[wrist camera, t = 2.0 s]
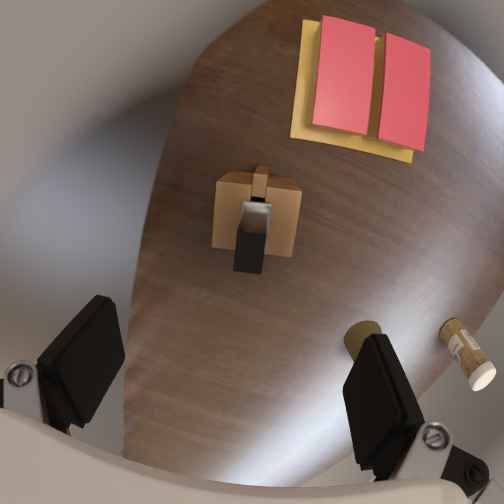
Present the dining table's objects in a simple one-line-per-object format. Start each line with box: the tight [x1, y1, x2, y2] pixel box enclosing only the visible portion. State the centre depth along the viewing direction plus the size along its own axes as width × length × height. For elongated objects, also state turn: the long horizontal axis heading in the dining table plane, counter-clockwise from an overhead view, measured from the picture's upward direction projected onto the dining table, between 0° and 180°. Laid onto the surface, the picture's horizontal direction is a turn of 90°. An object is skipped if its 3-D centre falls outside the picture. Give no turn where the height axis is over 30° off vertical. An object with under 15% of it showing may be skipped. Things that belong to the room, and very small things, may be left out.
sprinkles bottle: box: [440, 319, 496, 391], centre depth 31 cm, size 5×5×14 cm
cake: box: [290, 15, 431, 164], centre depth 23 cm, size 15×15×5 cm
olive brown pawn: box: [344, 321, 382, 362], centre depth 33 cm, size 6×6×11 cm
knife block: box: [212, 165, 302, 257], centre depth 28 cm, size 7×8×8 cm
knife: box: [233, 197, 272, 274], centre depth 25 cm, size 2×4×16 cm, turn 173°
